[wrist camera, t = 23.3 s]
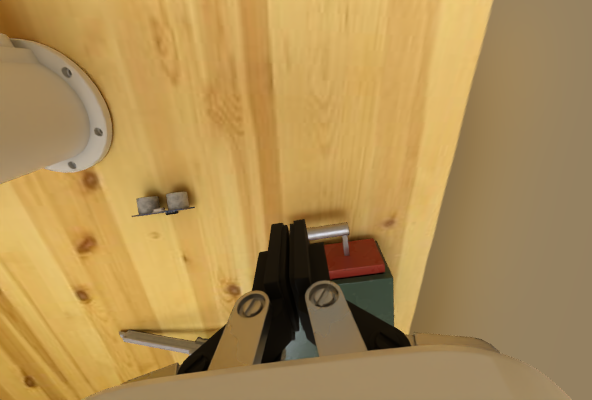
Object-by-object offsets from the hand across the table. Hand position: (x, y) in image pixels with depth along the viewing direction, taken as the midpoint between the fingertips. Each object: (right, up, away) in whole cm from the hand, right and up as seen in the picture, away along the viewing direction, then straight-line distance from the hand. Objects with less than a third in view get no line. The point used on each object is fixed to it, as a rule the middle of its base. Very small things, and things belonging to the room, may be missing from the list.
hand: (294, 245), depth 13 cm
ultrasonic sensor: (-15, +2, +18) cm, 24 cm away
